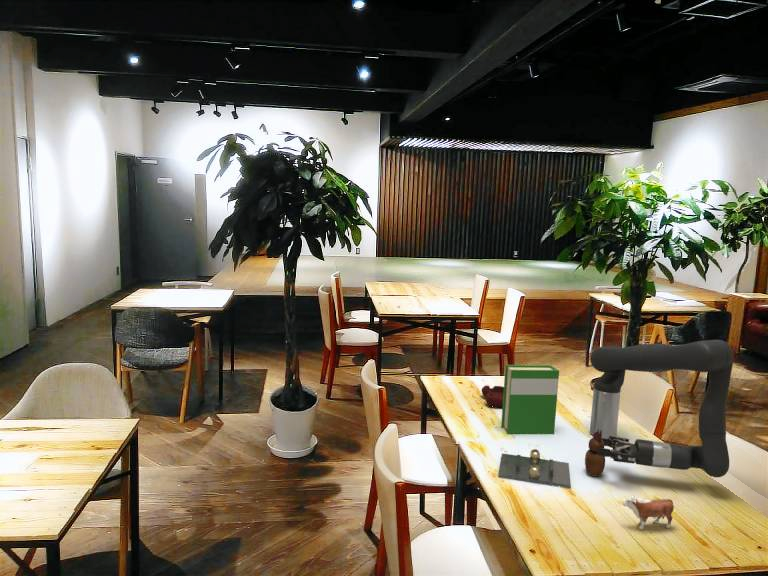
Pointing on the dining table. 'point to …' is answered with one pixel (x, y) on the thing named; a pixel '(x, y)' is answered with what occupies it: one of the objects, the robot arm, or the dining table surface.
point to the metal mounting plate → (535, 469)
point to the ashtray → (494, 395)
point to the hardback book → (530, 399)
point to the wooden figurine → (595, 455)
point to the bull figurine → (650, 509)
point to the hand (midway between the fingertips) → (595, 446)
